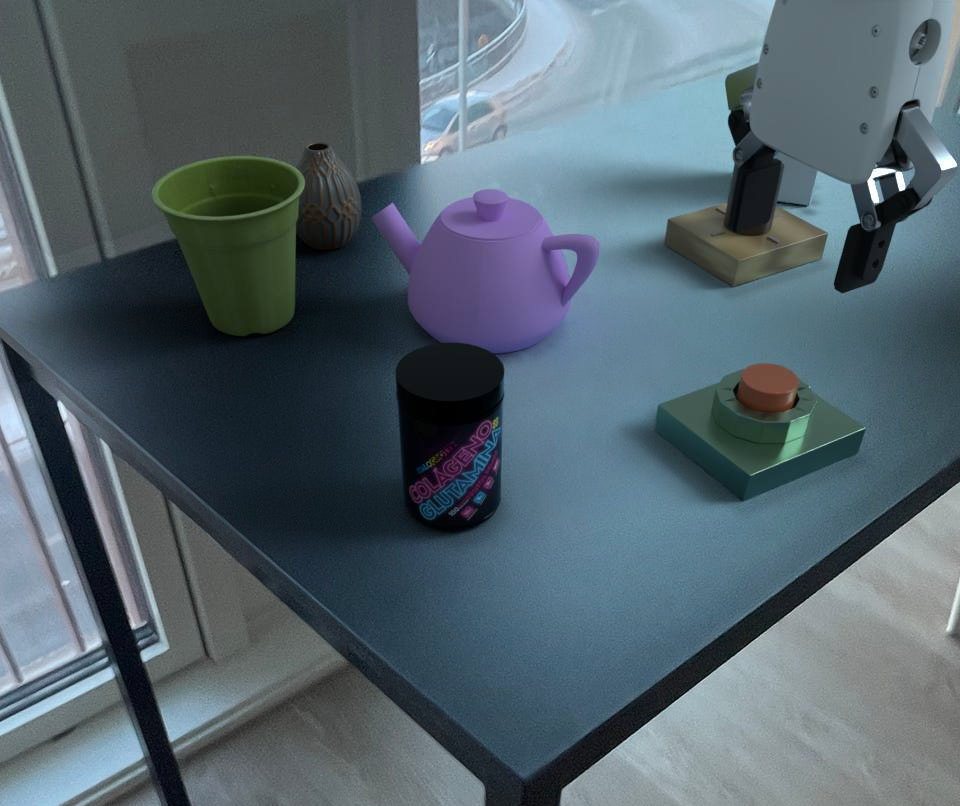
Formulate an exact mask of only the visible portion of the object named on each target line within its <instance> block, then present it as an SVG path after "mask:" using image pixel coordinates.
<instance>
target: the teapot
mask: <svg viewBox="0 0 960 806" xmlns="http://www.w3.org/2000/svg"><path fill="white" fill-rule="evenodd" d="M370 219H371V221H372V222H373V224H374V225H375V227H376V229H377V230H378V231H379V233H380V234H381V236H382V237H383V239H384V240H385V242H386V244H387V245H388V246H389V247H390V250H391V251H392V252H393V253H394V255H395V256H396V258H397V259H398V261H399V263H400V264H401V265H402V267H403V268H404V270H405V271H406V272H407V274H408V276H409V277H408V283H407V305H408V309H409V311H410V313H411V315H412V318H413V319H414V320H415V321H416V322H417V323H418V324H419V326H421V328H422V329H423V330H424V331H425V332H426V333H428V334H429V336H431V337H432V338H433V339H435V340H436V341H437V342H438V343H464V344H470V345H474V346H478V347H481V348H483V349H486V350H488V351H490V352H491V353H493V354H507V353H513V352H517V351H522V350H525V349H528V348H531V347H533V346H535V345H537V344H538V343H540V342H542V341H543V340H545V339H546V338H547V337H548V336H549V335H551V334H552V333H553V332H554V331H556V329H557V328H558V327H559V326H560V324H561V323H562V322H563V321H564V320H565V318H566V317H567V315H568V313H569V311H570V308H571V306H572V304H571V303H572V301H571V300H572V298H573V297H574V296H575V295H576V294H577V293H578V291H579V290H580V289H581V288H582V287H583V285H584V284H585V283H586V282H587V280H588V279H589V277H590V276H591V275H592V273H593V272H594V270H595V268H596V266H597V262H598V260H599V256H600V251H601V246H600V243H599V242H598V240H597V238H595V237H594V236H592V235H589V234H584V233H566V234H564V233H563V234H557V235H554V233H553V231H552V229H551V227H550V226H549V224H548V223H547V221H546V219H545V218H544V217H543V215H542V213H540V211H539V210H538V209H537V208H535V207H534V206H533V205H532V204H529V202H528V203H527V202H526V201H523V200H520V199H517V198H513V197H509V195H508V193H507V192H505V191H502V190H499V189H496V188H485V189H481V190H478V191H476V192H474V193H473V195H472V196H470V197H466V198H461V199H460V200H456V201H454V202H452V203H450V204H449V205H447V206H446V207H445V208H443V209H442V211H441V212H440V213H439V214H438V215H437V217H436V218H435V220H434V221H433V222H432V224H431V225H430V228H429V229H428V231H427V232H426V235H425V236H424V238H423V239H422V241H421V243H420V241H419V240H418V239H417V237H416V236H415V234H414V232H413V230H412V229H411V228H410V226H409V224H407V222H406V221H405V219H404V218H403V216H402V215H401V212H399V210H398V208H397V206H396V205H395V204H394V203H393V202H391V203H390V204H389V205H387V206H386V207H384V208H383V209H382V210H380V211H378V212H377V213H375V214H374V215H373V216H371V218H370ZM562 250H568V251H572V252H574V253H575V254H576V263H575V266H574V269H573V271H572V275H571V276H570V272H569V268H568V263H567V261H566V258H565V255H564V253H563V251H562Z"/></svg>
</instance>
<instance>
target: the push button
mask: <svg viewBox="0 0 960 806" xmlns="http://www.w3.org/2000/svg"><path fill="white" fill-rule="evenodd" d="M743 369H744V370H743V372H742V374H741V378H740V383H739V387H738V392H737V400H738V401H739V402H740V403H742V404H743V405H745V406H746V407H747V408H750V409H754V410H757V411H761V412H764V413H766V412H784V411H787V410H789V409H791V408H792V406H793V404H794V400H795V397H796V393H797V389H798V385H799V380H800V378H799V377H798V375H797V374H796V373H795V372H794V371H792V370H791V369H790V368H788V367H785V366H783V365H779V364H775V363H769V362H766V363H765V362H762V363H761V362H760V363H754V364H751V365H748V366H747V367H745V368H743Z"/></svg>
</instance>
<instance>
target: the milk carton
mask: <svg viewBox="0 0 960 806" xmlns="http://www.w3.org/2000/svg"><path fill="white" fill-rule="evenodd" d="M774 158H775V159H778V160H780V161H782V163H783V164H784V172H783V177H782V181H781V186H780V190H779V195H778V200H777V202H781V203H787V204H796V205H803V206H811V204H812V200H813V195H814V193H815V188H816V184H817V179H818V176H819V171H818V170H815V169H813V168H811V167H809V166H807V165H805V164H803V163H801V162H799V161H797V160H795V159H793V158H791V157H788V156H786V155H784V154H782V153H780V152H778V153H777V154H776V155H775V156H774Z"/></svg>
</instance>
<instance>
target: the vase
mask: <svg viewBox="0 0 960 806" xmlns="http://www.w3.org/2000/svg"><path fill="white" fill-rule="evenodd" d="M294 167H295V168H296V169H298V170H299V171H300V172H301V174H302V175H303V177H304V180H305V187H304V190H303V192H302V194H301V195H300V196H299V211H298V219H297V222H296V236H297V237H299V239H300V240H301V241H303V242H304V243H305V244H306V245H308V246H309V247H310V248H313V249H314V250H319V251H332V250H333V251H334V250H338V249H341V248H343V247H345V246H346V245H347V244H349V243H350V241H351V240H352V239H353V238H354V237H355V235H356V233H357V232H358V229H359V227H360V223H361V219H362V197H361V193H360V189H359V186H358V183H357V180H356V178H355V177H354V174H353V173H352V171H351V170H350V169H349V168H348V166H346V164H345V163H344V162H343V160H342V159H340V158H339V156H338V155H337V154H336V151H335V150H334V148H333V146H332V144H331V143H329V142H327V141H321V140H319V141H311V142H309V143H306V144H305V146H304V149H303V152H302V155H301V157H300V159H299V161H298V162H297V164H296V165H295V166H294Z"/></svg>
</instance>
